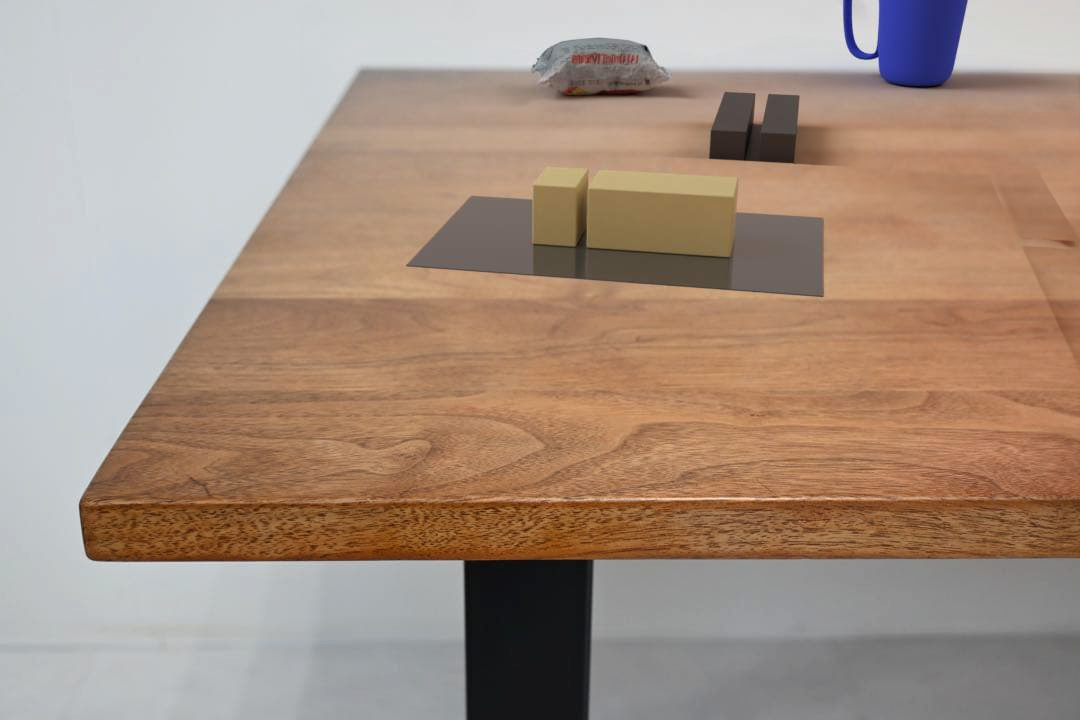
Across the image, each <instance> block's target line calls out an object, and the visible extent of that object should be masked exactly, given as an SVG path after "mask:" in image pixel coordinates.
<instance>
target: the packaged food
mask: <svg viewBox="0 0 1080 720" xmlns="http://www.w3.org/2000/svg"><path fill="white" fill-rule="evenodd" d="M530 71H531V74H533V75H534V74H535V73H539V74H540V75H541V77H540V79H539V80H538V82H537V86H543V85H547V84H550V85H551V86H552V87H553V88H554V89H555V90H556V91H558V92H560V93H561V94H565V95H569V96H598V95H606V96H607V95H608V96H621V95H631V94H635V93H641V92H644V91H647V90H651V89H652V88H653V87H654V86H657V85H662V83H666V82H669V80H670V79H671V78H672V76H673V75H672V74H673V71H672V69H670V68H666V67H664V66H660V65H659V64H658V63H657V61H656V60H655V59H654V58H653V55H652V52H651V50H650V49H649V47H648V46H647V45H646V44H644V43H640V42H638V41H637V42H636V41H633V40H629V39H623V38H622V39H621V38H610V37H589V38H576V39H567V40H561V41H559V42H557V43H555V44H553V45H551V46H549V47H548V48H546V49H545V50H544V51H543V52H542V53H541V54H540V56H539V57H537V58H536V63H534V64H533V65H532V67H531V68H530Z"/></svg>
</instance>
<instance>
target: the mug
mask: <svg viewBox="0 0 1080 720" xmlns="http://www.w3.org/2000/svg"><path fill="white" fill-rule="evenodd" d="M968 2H969V0H878V24H877V27H878V28H877V42H876V48H875V51H874V52H873V53H868V52H865V51H863V50H861V49H860V48H859V46H858V45H857V43H856V39H855V35H854V28H853V0H842V21H843V33H844V40H845V44H846V47H847V49H848V52H849V53H850V54H851V55H852V56H853V57H854V58H856V59H858V60H862V61H871V60H876V59H877V60H878V71H879V75H880V77H881V78H882V79H883V80H885V81H886V82H888V83H891V84H895V85H899V86H907V87H908V86H909V87H933V86H938V85H943V84H945V83H946V82H947V81H949V80H950V78H951V77H952V74H953V71H954V68H955V64H956V58H957V54H958V48H959V44H960V40H961V35H962V30H963V26H964V20H965V16H966V12H967V6H968Z"/></svg>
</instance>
